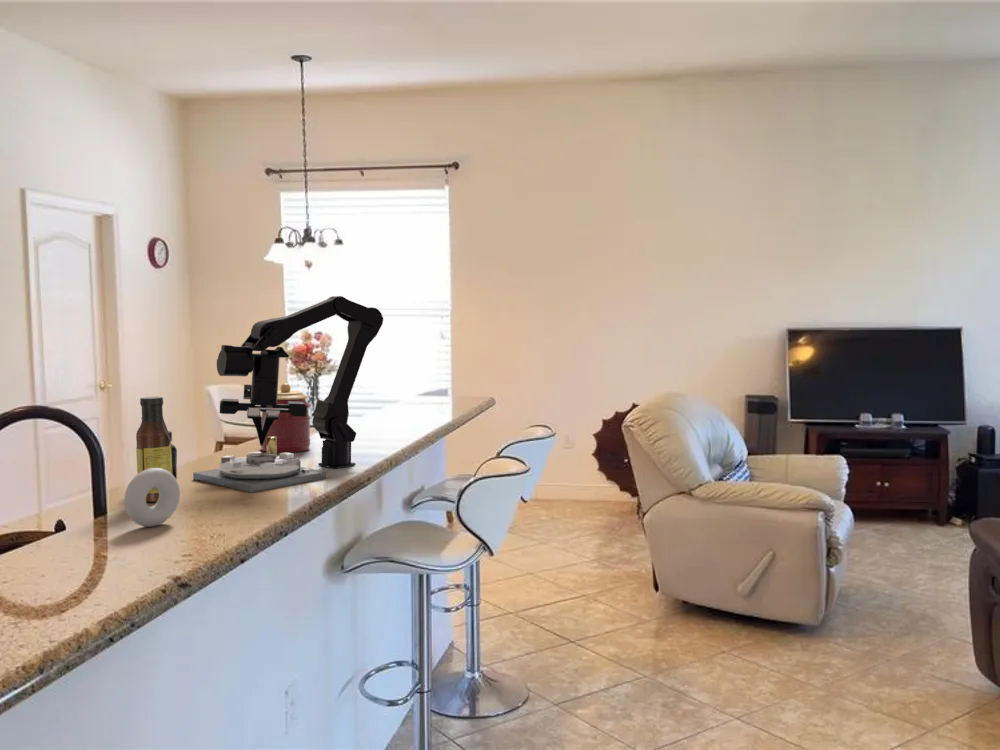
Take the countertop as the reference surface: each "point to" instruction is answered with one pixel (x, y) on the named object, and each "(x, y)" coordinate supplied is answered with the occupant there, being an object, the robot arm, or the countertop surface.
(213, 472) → the flat gray square plate
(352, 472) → the countertop surface
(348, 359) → the robot arm
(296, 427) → the canister
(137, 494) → the donut
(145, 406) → the sauce bottle
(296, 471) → the lugged silver disc
